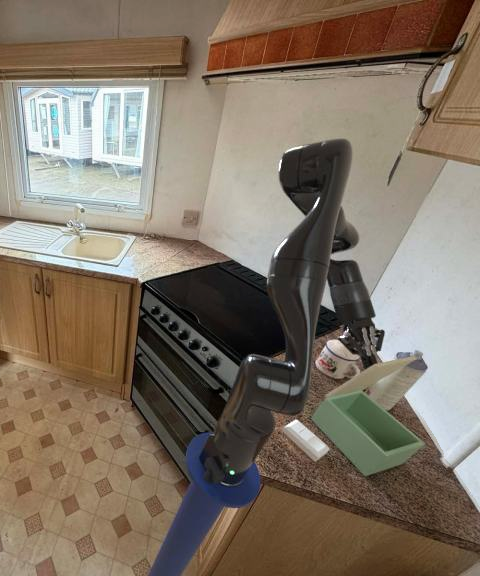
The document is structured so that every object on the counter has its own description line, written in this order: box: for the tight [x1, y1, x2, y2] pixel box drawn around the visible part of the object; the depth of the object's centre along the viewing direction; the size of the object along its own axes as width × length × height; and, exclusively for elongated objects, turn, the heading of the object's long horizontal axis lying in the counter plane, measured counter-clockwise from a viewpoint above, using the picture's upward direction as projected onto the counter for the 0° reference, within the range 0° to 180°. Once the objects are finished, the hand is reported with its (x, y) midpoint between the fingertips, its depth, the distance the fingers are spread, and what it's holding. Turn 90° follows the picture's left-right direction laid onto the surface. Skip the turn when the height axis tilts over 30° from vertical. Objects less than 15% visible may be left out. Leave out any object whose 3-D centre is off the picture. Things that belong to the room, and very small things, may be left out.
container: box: [310, 390, 426, 477], centre depth 78 cm, size 16×13×9 cm
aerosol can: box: [363, 349, 429, 412], centre depth 86 cm, size 7×7×20 cm
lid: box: [325, 356, 417, 398], centre depth 76 cm, size 16×13×1 cm
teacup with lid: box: [315, 339, 361, 380], centre depth 97 cm, size 12×9×12 cm
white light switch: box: [281, 419, 331, 463], centre depth 78 cm, size 5×9×3 cm, turn 28°
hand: (372, 371), depth 75 cm, fingers closed
